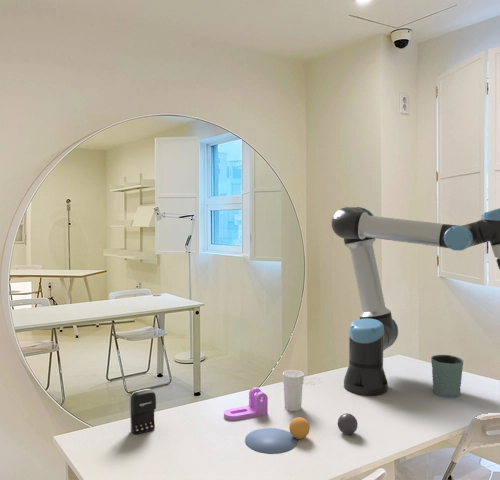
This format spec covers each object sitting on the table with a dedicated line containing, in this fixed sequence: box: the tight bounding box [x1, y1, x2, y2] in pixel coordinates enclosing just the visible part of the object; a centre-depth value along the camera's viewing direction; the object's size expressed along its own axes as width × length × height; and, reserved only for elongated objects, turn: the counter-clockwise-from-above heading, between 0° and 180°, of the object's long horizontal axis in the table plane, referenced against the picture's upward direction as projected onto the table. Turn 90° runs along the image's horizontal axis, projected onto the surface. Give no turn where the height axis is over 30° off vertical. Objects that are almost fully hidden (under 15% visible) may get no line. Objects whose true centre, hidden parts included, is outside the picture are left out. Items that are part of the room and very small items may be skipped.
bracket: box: [223, 386, 269, 421], centre depth 147 cm, size 13×6×7 cm, turn 114°
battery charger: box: [129, 388, 157, 435], centre depth 135 cm, size 7×4×11 cm, turn 124°
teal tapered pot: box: [430, 354, 464, 399], centre depth 164 cm, size 10×10×12 cm
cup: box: [282, 369, 305, 412], centre depth 152 cm, size 7×7×11 cm
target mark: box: [244, 427, 298, 454], centre depth 130 cm, size 14×14×1 cm
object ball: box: [288, 416, 310, 440], centre depth 132 cm, size 6×6×6 cm
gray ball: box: [337, 413, 359, 435], centre depth 134 cm, size 6×6×6 cm
